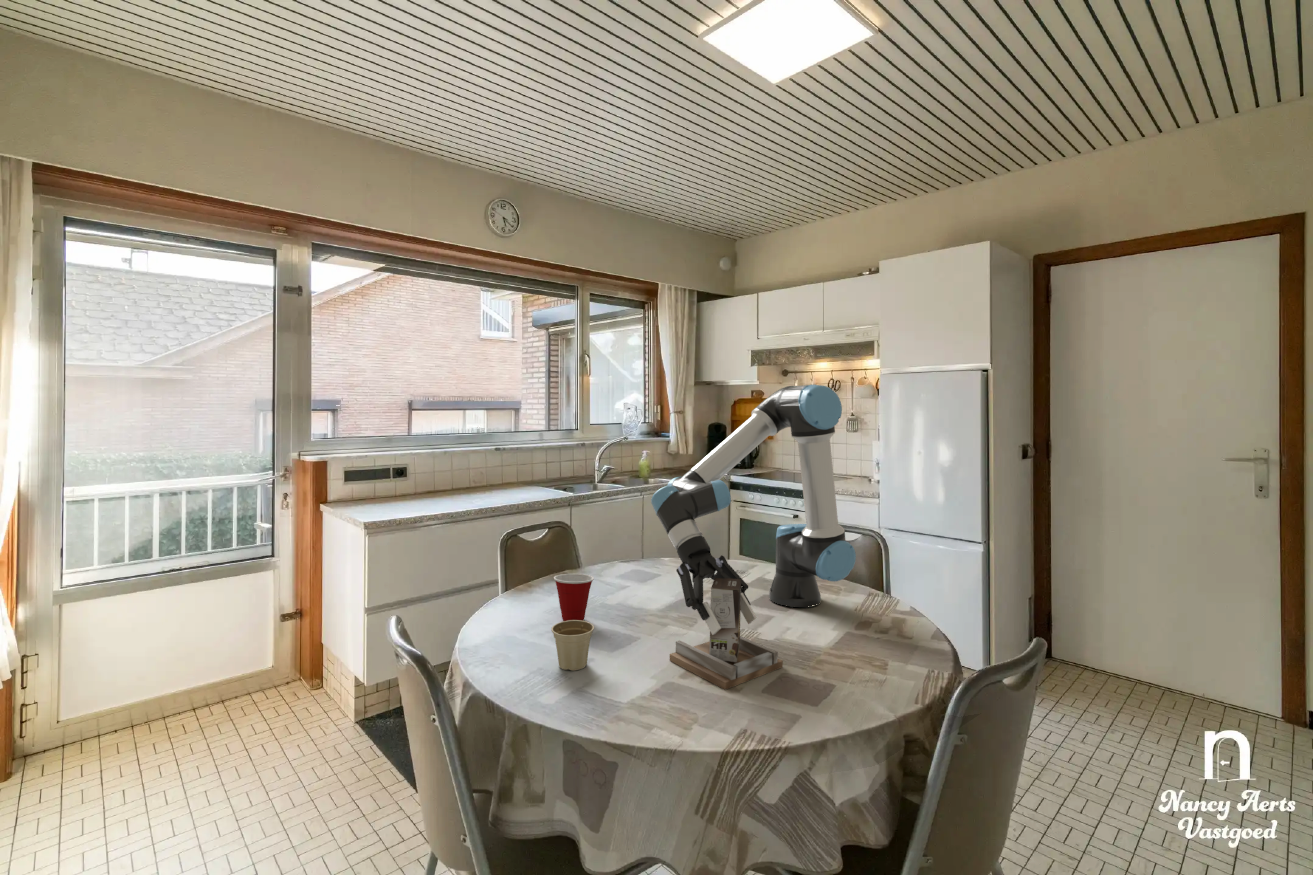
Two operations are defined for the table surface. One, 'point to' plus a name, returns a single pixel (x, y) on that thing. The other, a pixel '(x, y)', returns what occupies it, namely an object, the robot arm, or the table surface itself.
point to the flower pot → (572, 643)
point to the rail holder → (727, 662)
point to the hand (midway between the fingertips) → (735, 626)
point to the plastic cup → (573, 595)
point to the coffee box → (726, 618)
